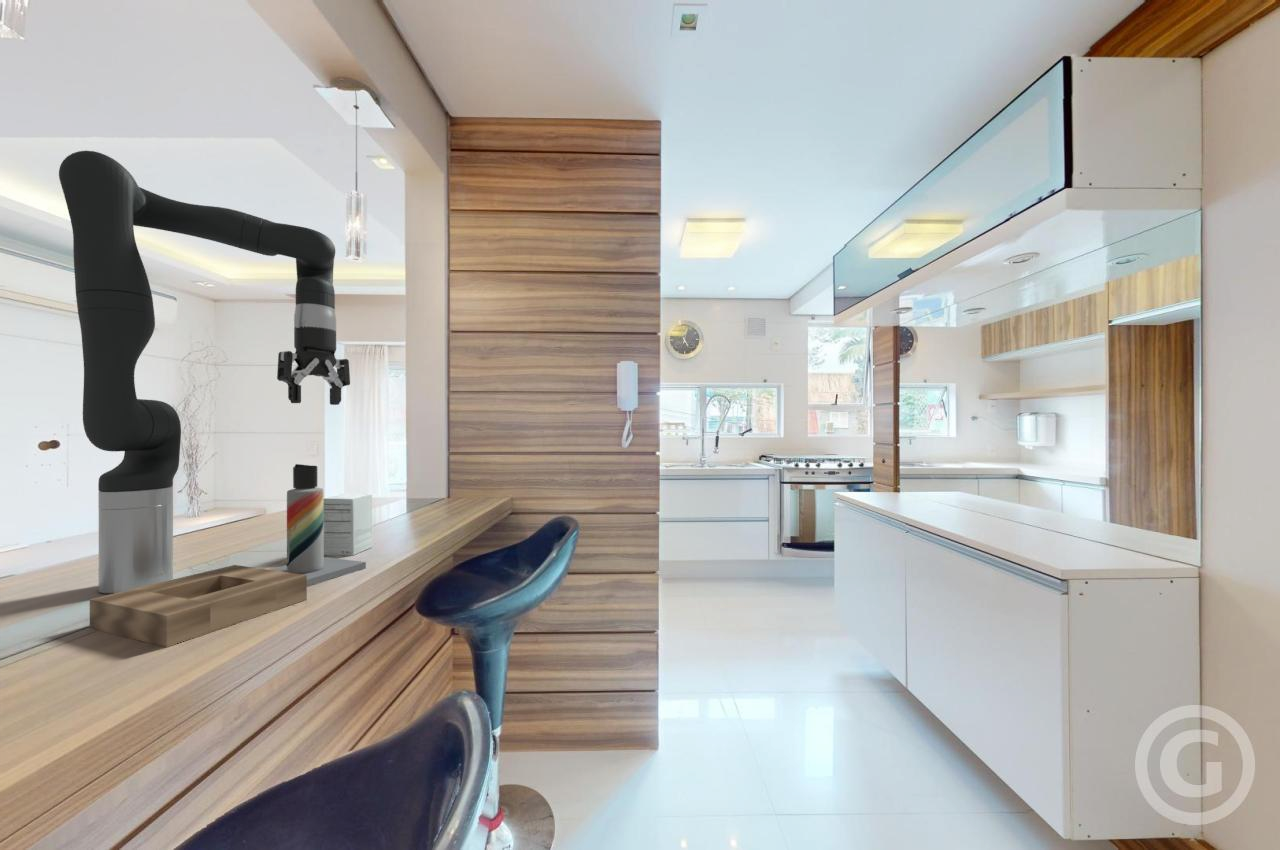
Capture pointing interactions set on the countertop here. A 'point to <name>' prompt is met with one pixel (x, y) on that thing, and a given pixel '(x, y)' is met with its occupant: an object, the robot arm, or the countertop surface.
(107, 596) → the block
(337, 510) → the supplement box
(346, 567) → the rubber mat
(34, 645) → the countertop surface
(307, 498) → the lotion bottle
